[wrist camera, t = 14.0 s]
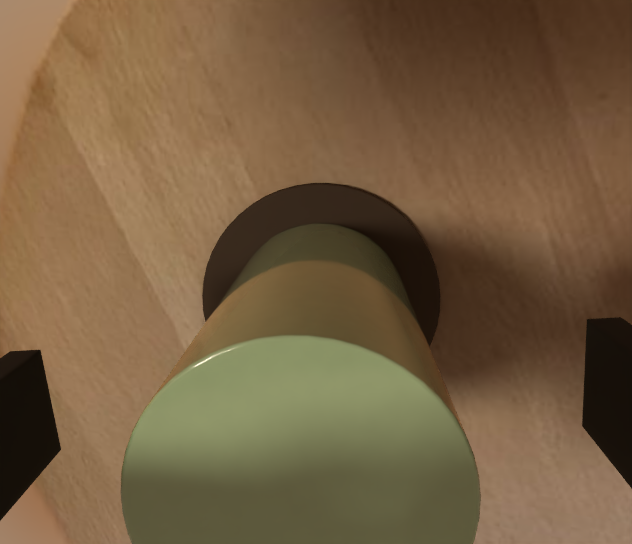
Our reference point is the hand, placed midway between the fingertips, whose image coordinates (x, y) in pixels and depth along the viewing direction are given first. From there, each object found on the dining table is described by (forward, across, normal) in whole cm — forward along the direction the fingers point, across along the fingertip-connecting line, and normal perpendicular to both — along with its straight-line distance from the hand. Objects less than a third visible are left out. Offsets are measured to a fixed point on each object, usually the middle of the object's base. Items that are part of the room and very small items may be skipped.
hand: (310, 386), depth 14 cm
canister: (+8, 0, -1) cm, 8 cm away
